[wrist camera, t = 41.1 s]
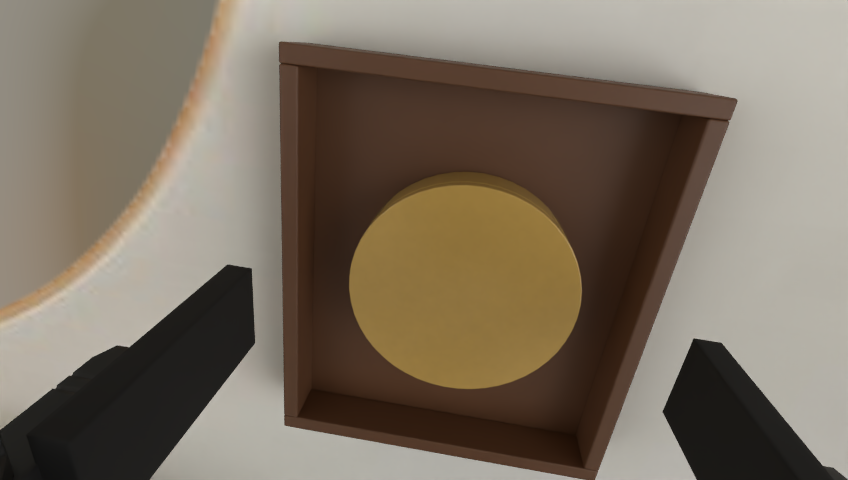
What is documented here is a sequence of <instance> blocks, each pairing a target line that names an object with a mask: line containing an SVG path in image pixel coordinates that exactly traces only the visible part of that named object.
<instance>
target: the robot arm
mask: <svg viewBox="0 0 848 480" xmlns="http://www.w3.org/2000/svg"><path fill="white" fill-rule="evenodd" d="M254 344H255V331H254V309H253V287H252V268H245V267H239V266H233V265H226V266H225V267H224V268H223V269H222V270H221V271H219V272H218V273H217V274H216V275H215V276H213V277H212V278H211V279H210V280H209V281H208V282H206V283H205V284H204V285H203V286H202V287H200V288H199V289H198V290H197V291H196V292H195V293H193V294H192V295H191V296H190V297H189V298H187V299H186V300H185V301H184V302H183V303H181V304H180V305H179V306H178V307H177V308H176V309H174V310H173V311H172V312H171V313H170V314H168V315H167V316H166V317H165V318H164V319H163V320H161V321H160V322H159V323H158V324H157V325H155V326H154V327H153V328H152V329H151V330H150V331H148V332H147V333H146V334H145V335H144V336H142V337H141V338H140V339H139V340H138V341H136V342H135V343H134V344H133V345H132V346H131V347H129V348H128V347H123V346H115V347H113V348H111V349H109V350H107V351H105V352H103V353H101V354H98V355H96V356H94V357H92V358H91V359H90V360H89V361H87V362H86V363H85V364H83V365H82V366H81V367H80V368H78V369H77V370H76V371H75V372H73V375H72V376H68V377H67V378H66V379H64V380H63V381H62V382H61V383H59V384H58V385H57V388H56V389H52V390H51V391H49V392H48V393H47V394H46V395H44V396H43V397H42V398H40V399H39V400H38V401H37V402H35V403H34V404H33V405H32V406H30V407H29V408H28V409H27V410H25V411H24V412H23V413H21V414H20V415H19V416H18V417H16V418H15V419H14V420H13V421H11V422H10V423H9V424H8V425H6V426H5V427H4V428H2V429H1V430H0V480H149V479H150V478H151V477H152V476H153V474H154V473H155V472H156V470H157V469H158V468H159V466H160V465H161V464H162V463H163V461H164V460H165V459H166V457H167V456H168V455H169V454H170V452H171V451H172V450H173V448H174V447H175V446H176V444H177V443H178V442H179V441H180V439H181V438H182V437H183V435H184V434H185V433H186V432H187V430H188V429H189V428H190V426H191V425H192V424H193V422H194V421H195V420H196V419H197V417H198V416H199V415H200V413H201V412H202V411H203V410H204V408H205V407H206V406H207V404H208V403H209V402H210V400H211V399H212V398H213V397H214V395H215V394H216V393H217V391H218V390H219V389H220V388H221V386H222V385H223V384H224V382H225V381H226V380H227V378H228V377H229V376H230V375H231V373H232V372H233V371H234V369H235V368H236V367H237V366H238V364H239V363H240V362H241V360H242V359H243V358H244V356H245V355H246V354H247V353H248V351H249V350H250V349H251V347H252V346H253V345H254ZM663 413H664V415H665V417H666V419H667V421H668V423H669V425H670V427H671V429H672V431H673V433H674V435H675V437H676V439H677V441H678V443H679V445H680V447H681V449H682V451H683V453H684V455H685V457H686V459H687V461H688V463H689V465H690V467H691V469H692V471H693V473H694V475H695V477H696V479H697V480H848V479H846V478H845V477H844V476H843V475H841V474H840V473H839V472H838V471H837V470H835V469H834V468H831V467H825V466H822V465H821V463H820V462H819V461H818V460H817V458H816V457H815V456H814V455H813V454H812V452H811V451H810V450H809V449H808V448H807V446H806V445H805V444H804V443H803V441H802V440H801V439H800V438H799V437H798V435H797V434H796V433H795V432H794V431H793V429H792V428H791V427H790V426H789V424H788V423H787V422H786V421H785V420H784V418H783V417H782V416H781V415H780V414H779V412H778V411H777V410H776V409H775V407H774V406H773V405H772V404H771V403H770V401H769V400H768V399H767V398H766V397H765V395H764V394H763V393H762V392H761V390H760V389H759V388H758V387H757V386H756V384H755V383H754V382H753V381H752V380H751V378H750V377H749V376H748V375H747V373H746V372H745V371H744V370H743V369H742V367H741V366H740V365H739V364H738V363H737V361H736V360H735V359H734V358H733V356H732V355H731V354H730V353H729V352H728V350H727V349H726V348H725V347H724V346H723V344H722V343H719V342H712V341H706V340H700V339H693V342H692V344H691V346H690V349H689V351H688V353H687V356H686V358H685V360H684V363H683V365H682V368H681V370H680V372H679V375H678V377H677V379H676V382H675V384H674V386H673V389H672V391H671V393H670V396H669V398H668V400H667V403H666V405H665V407H664V410H663Z"/></svg>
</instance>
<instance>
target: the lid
mask: <svg viewBox="0 0 848 480" xmlns="http://www.w3.org/2000/svg"><path fill="white" fill-rule="evenodd" d="M349 292H350V300H351V304H352V308H353V312H354V315H355V317H356V320H357V322H358V324H359V327H360V328H361V330H362V332H363V333H364V335H365V337H366V338H367V339H368V341H369V342H370V343H371V345H372V346H373V347H374V348H375V349H376V350H377V351H378V352H379V353H380V354H381V355H382V356H383V357H384V358H385V359H386V360H387V361H389V362H390V363H391V364H393V365H394V366H395V367H397V368H399V369H400V370H402V371H403V372H405V373H407V374H409V375H411V376H413V377H415V378H417V379H420V380H422V381H425V382H428V383H431V384H435V385H439V386H443V387H450V388H457V389H480V388H488V387H494V386H499V385H503V384H506V383H510V382H513V381H515V380H517V379H520V378H522V377H525V376H526V375H528V374H530V373H532V372H533V371H535V370H537V369H538V368H540V367H541V366H542V365H544V364H545V363H546V362H548V361H549V360H550V359H551V358H552V357H553V356H554V355H555V354H556V353H557V352H558V351H559V349H560V348H561V347H562V346H563V344H564V343H565V342H566V340H567V338H568V337H569V335H570V333H571V332H572V330H573V327H574V325H575V323H576V320H577V318H578V314H579V310H580V306H581V297H582V283H581V274H580V270H579V265H578V262H577V259H576V257H575V254H574V252H573V249H572V247H571V245H570V243H569V240H568V238H567V236H566V234H565V232H564V230H563V228H562V226H561V225H560V223H559V221H558V219H557V218H556V217H555V215H554V214H553V213H552V212H551V210H550V209H549V208H548V207H547V206H546V205H545V204H544V203H543V202H542V201H541V200H540V199H539V198H538V197H536V196H535V195H533V194H532V193H531V192H529V191H528V190H526V189H525V188H523V187H521V186H519V185H517V184H515V183H514V182H511V181H508V180H506V179H503V178H501V177H497V176H493V175H489V174H485V173H476V172H451V173H445V174H438V175H435V176H432V177H428V178H425V179H422V180H420V181H418V182H416V183H413V184H411V185H409V186H408V187H406V188H405V189H403V190H401V191H400V192H398V193H397V194H396V195H395V196H393V197H392V198H391V199H390V200H389V201H388V202H387V203H386V204H385V205H384V206H383V207H382V208H381V209H380V210H379V212H378V213H377V215H376V216H375V218H374V219H373V220H372V222H371V224H370V225H369V227H368V228H367V230H366V231H365V233H364V235H363V236H362V238H361V240H360V242H359V244H358V246H357V248H356V250H355V253H354V256H353V259H352V262H351V268H350V274H349Z"/></svg>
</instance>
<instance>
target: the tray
mask: <svg viewBox="0 0 848 480" xmlns="http://www.w3.org/2000/svg"><path fill="white" fill-rule="evenodd" d="M279 62H280V63H281V64H280V65H279V74H280V142H281V211H282V279H283V348H284V414H285V415H284V421H285V426H290V427H296V428H301V429H307V430H313V431H318V432H324V433H329V434H335V435H340V436H346V437H351V438H357V439H363V440H368V441H374V442H379V443H385V444H390V445H396V446H401V447H407V448H412V449H418V450H424V451H429V452H435V453H440V454H446V455H451V456H457V457H462V458H468V459H474V460H479V461H485V462H490V463H496V464H501V465H507V466H512V467H518V468H524V469H529V470H535V471H540V472H546V473H551V474H557V475H562V476H568V477H573V478H579V479H585V480H595V478H596V475H597V473H598V470H599V467H600V464H601V462H602V459H603V457H604V454H605V451H606V449H607V446H608V443H609V441H610V438H611V435H612V433H613V430H614V427H615V425H616V422H617V419H618V417H619V414H620V411H621V409H622V406H623V403H624V401H625V398H626V395H627V393H628V390H629V387H630V385H631V382H632V380H633V377H634V374H635V372H636V369H637V366H638V364H639V361H640V358H641V356H642V353H643V350H644V348H645V345H646V342H647V340H648V337H649V334H650V332H651V329H652V326H653V324H654V321H655V318H656V316H657V313H658V311H659V308H660V305H661V303H662V300H663V297H664V295H665V292H666V289H667V287H668V284H669V281H670V279H671V276H672V273H673V271H674V268H675V265H676V263H677V260H678V257H679V255H680V252H681V249H682V247H683V244H684V242H685V239H686V236H687V234H688V231H689V228H690V226H691V223H692V220H693V218H694V215H695V212H696V210H697V207H698V204H699V202H700V199H701V196H702V194H703V191H704V188H705V186H706V183H707V180H708V178H709V175H710V172H711V170H712V167H713V165H714V162H715V159H716V157H717V154H718V151H719V149H720V146H721V143H722V141H723V138H724V135H725V133H726V130H727V127H728V125H729V122H728V120H730V119H731V117H732V114H733V112H734V109H735V107H736V104H737V99H735V98H729V97H724V96H719V95H713V94H708V93H703V92H695V91H687V90H679V89H671V88H663V87H655V86H647V85H639V84H631V83H623V82H615V81H607V80H599V79H591V78H583V77H575V76H567V75H559V74H551V73H543V72H535V71H527V70H519V69H511V68H504V67H496V66H488V65H480V64H472V63H464V62H456V61H448V60H440V59H432V58H424V57H416V56H408V55H400V54H392V53H384V52H376V51H368V50H360V49H352V48H344V47H336V46H328V45H320V44H312V43H300V42H279ZM451 172H476V173H485V174H489V175H493V176H497V177H501V178H503V179H506V180H508V181H511V182H514V183H515V184H517V185H519V186H521V187H523V188H525V189H526V190H528V191H529V192H531V193H532V194H533V195H535V196H536V197H538V198H539V199H540V200H541V201H542V202H543V203H544V204H545V205H546V206H547V207H548V208H549V209H550V210H551V212H552V213H553V214H554V215H555V217H556V218H557V219H558V221H559V223H560V225H561V226H562V228H563V230H564V232H565V234H566V236H567V238H568V240H569V243H570V245H571V247H572V249H573V252H574V254H575V257H576V259H577V262H578V265H579V270H580V274H581V283H582V297H581V306H580V310H579V314H578V318H577V320H576V323H575V325H574V327H573V330H572V332H571V333H570V335H569V337H568V338H567V340H566V342H565V343H564V344H563V346H562V347H561V348H560V349H559V351H558V352H557V353H556V354H555V355H554V356H553V357H552V358H551V359H550V360H549V361H548V362H546V363H545V364H544V365H542V366H541V367H540V368H538V369H537V370H535V371H533V372H532V373H530V374H528V375H526V376H525V377H522V378H520V379H517V380H515V381H513V382H510V383H506V384H503V385H499V386H494V387H488V388H480V389H457V388H450V387H443V386H439V385H435V384H431V383H428V382H425V381H422V380H420V379H417V378H415V377H413V376H411V375H409V374H407V373H405V372H403V371H402V370H400V369H399V368H397V367H395V366H394V365H393V364H391V363H390V362H389V361H387V360H386V359H385V358H384V357H383V356H382V355H381V354H380V353H379V352H378V351H377V350H376V349H375V348H374V347H373V346H372V345H371V343H370V342H369V341H368V339H367V338H366V337H365V335H364V333H363V332H362V330H361V328H360V327H359V324H358V322H357V320H356V317H355V315H354V312H353V308H352V304H351V300H350V292H349V274H350V268H351V262H352V259H353V256H354V253H355V250H356V248H357V246H358V244H359V242H360V240H361V238H362V236H363V235H364V233H365V231H366V230H367V228H368V227H369V225H370V224H371V222H372V220H373V219H374V218H375V216H376V215H377V213H378V212H379V210H380V209H381V208H382V207H383V206H384V205H385V204H386V203H387V202H388V201H389V200H390V199H391V198H392V197H393V196H395V195H396V194H397V193H398V192H400V191H401V190H403V189H405V188H406V187H408V186H409V185H411V184H413V183H416V182H418V181H420V180H422V179H425V178H428V177H432V176H435V175H438V174H445V173H451Z"/></svg>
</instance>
